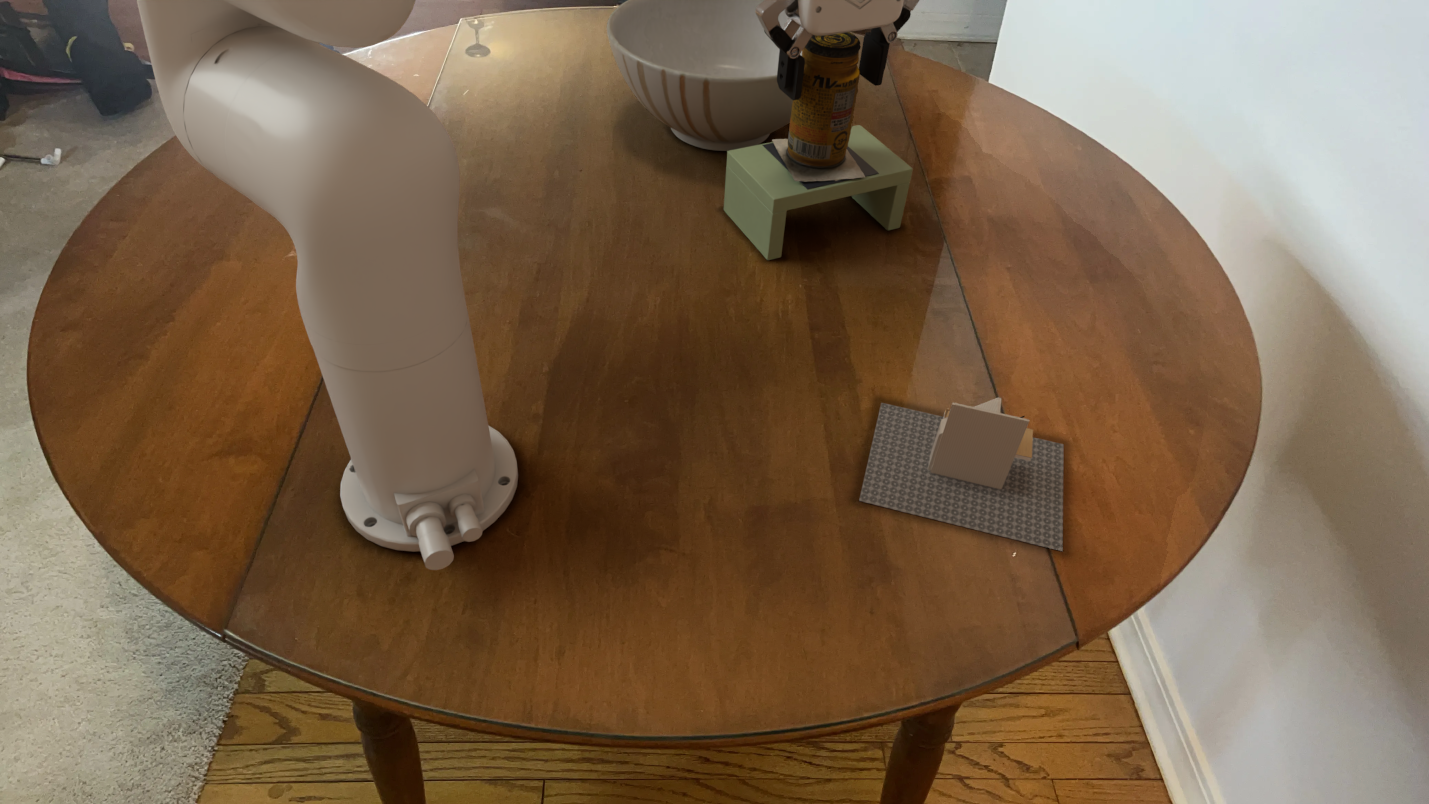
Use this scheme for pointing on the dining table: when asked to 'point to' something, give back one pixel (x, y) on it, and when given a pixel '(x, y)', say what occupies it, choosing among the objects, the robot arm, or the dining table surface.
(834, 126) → the condiment
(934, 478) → the architectural model
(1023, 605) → the dining table surface
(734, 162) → the shelf
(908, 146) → the dining table surface
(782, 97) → the decorative bowl
